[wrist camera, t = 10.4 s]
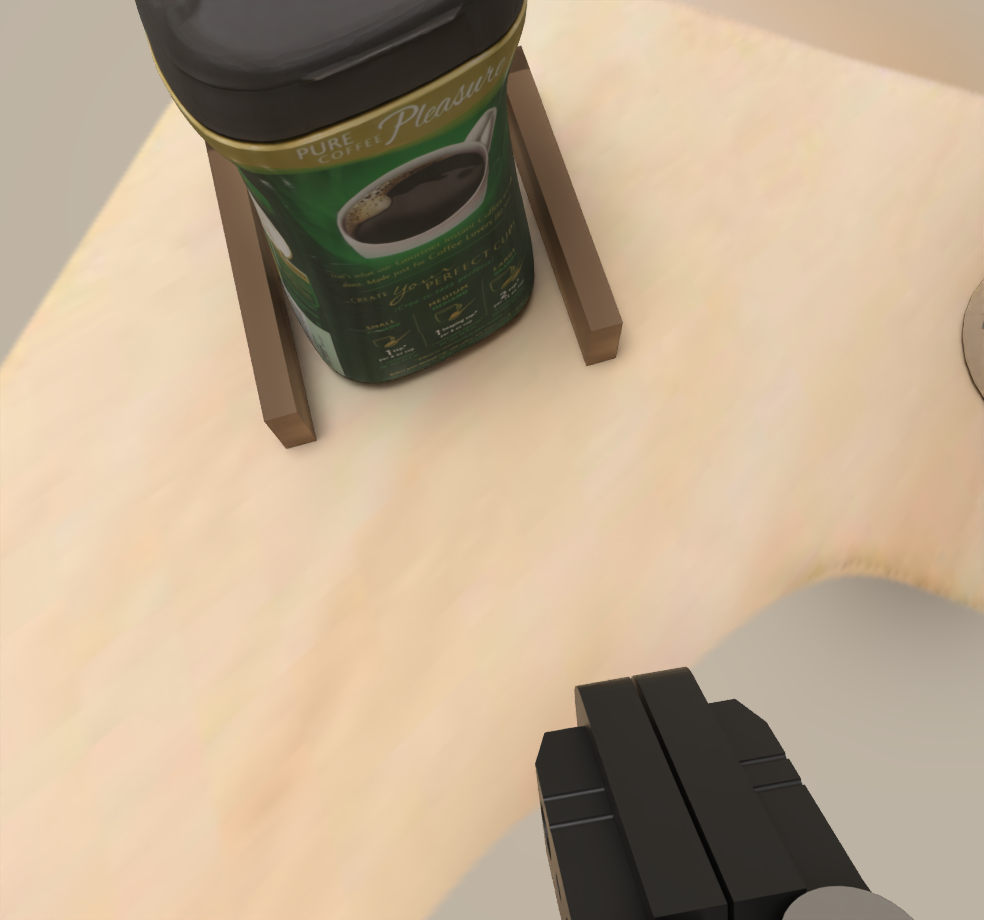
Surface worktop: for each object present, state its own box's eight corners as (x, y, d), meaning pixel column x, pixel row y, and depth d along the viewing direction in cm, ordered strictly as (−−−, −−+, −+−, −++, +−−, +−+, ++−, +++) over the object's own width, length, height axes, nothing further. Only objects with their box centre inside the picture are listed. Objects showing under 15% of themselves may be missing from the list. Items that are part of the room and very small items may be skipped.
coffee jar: (470, 167, 38) (418, -333, 21) (561, 311, 36) (590, -116, 18) (265, 265, 37) (27, -176, 20) (345, 419, 35) (155, 77, 17)
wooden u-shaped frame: (521, 96, 39) (521, 45, 36) (615, 357, 35) (622, 322, 32) (226, 174, 39) (202, 127, 36) (286, 448, 34) (264, 421, 32)
